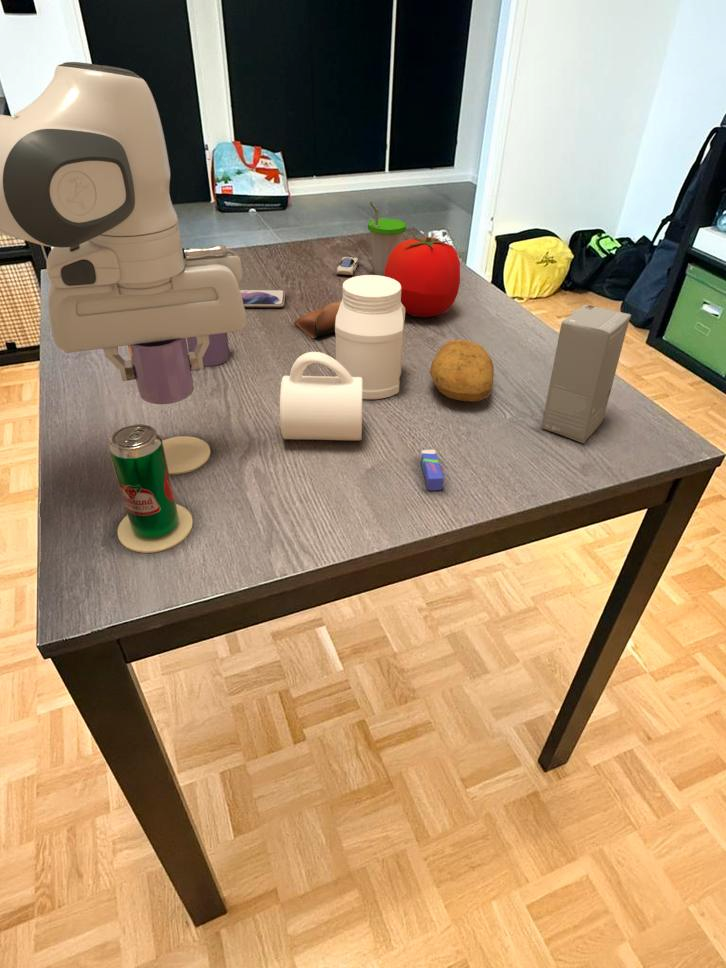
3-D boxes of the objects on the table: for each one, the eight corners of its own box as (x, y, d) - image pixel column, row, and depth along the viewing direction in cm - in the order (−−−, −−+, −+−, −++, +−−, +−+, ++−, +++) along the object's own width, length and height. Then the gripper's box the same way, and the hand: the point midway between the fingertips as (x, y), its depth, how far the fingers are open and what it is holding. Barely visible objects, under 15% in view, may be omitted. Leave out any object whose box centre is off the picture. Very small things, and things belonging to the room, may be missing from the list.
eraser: (434, 461, 80) (436, 448, 79) (442, 491, 75) (444, 478, 74) (419, 461, 80) (420, 449, 78) (426, 491, 75) (427, 478, 74)
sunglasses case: (369, 299, 120) (381, 275, 114) (388, 327, 118) (402, 304, 113) (290, 322, 111) (299, 297, 105) (310, 353, 110) (320, 329, 104)
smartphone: (283, 304, 116) (202, 304, 115) (284, 308, 117) (203, 308, 116) (285, 289, 121) (208, 289, 121) (285, 293, 122) (208, 293, 121)
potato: (424, 409, 90) (428, 366, 85) (432, 368, 100) (436, 327, 95) (489, 416, 89) (496, 373, 84) (490, 374, 98) (497, 333, 94)
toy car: (361, 259, 139) (361, 247, 137) (352, 278, 130) (352, 265, 128) (345, 257, 139) (345, 246, 138) (335, 276, 130) (335, 264, 129)
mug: (361, 452, 81) (363, 370, 73) (281, 451, 81) (275, 368, 73) (361, 418, 87) (363, 339, 80) (287, 417, 87) (282, 337, 80)
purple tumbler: (138, 407, 71) (125, 350, 66) (141, 380, 75) (128, 326, 71) (194, 401, 72) (184, 345, 68) (193, 375, 77) (184, 322, 72)
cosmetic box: (583, 445, 83) (616, 335, 73) (534, 427, 87) (559, 319, 77) (605, 419, 89) (638, 313, 79) (558, 402, 92) (584, 299, 82)
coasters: (119, 560, 65) (119, 558, 65) (111, 449, 80) (111, 447, 80) (234, 535, 68) (234, 533, 68) (205, 433, 84) (205, 431, 83)
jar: (397, 402, 91) (404, 303, 82) (332, 397, 92) (332, 299, 82) (402, 365, 100) (408, 272, 91) (343, 361, 101) (343, 268, 91)
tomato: (457, 330, 111) (466, 252, 102) (380, 325, 112) (383, 248, 103) (454, 296, 123) (463, 224, 115) (385, 292, 124) (388, 220, 115)
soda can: (122, 535, 67) (95, 444, 60) (148, 506, 71) (126, 418, 64) (164, 546, 66) (141, 454, 59) (188, 516, 70) (169, 427, 63)
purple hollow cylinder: (193, 368, 98) (186, 326, 93) (188, 351, 102) (181, 310, 98) (232, 363, 99) (227, 321, 95) (225, 346, 104) (220, 306, 100)
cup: (401, 268, 135) (405, 194, 126) (405, 281, 129) (410, 204, 120) (365, 268, 135) (367, 193, 125) (367, 281, 129) (369, 204, 119)
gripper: (234, 234, 69) (246, 349, 77) (33, 252, 63) (70, 373, 72) (245, 253, 64) (257, 372, 73) (29, 273, 58) (70, 400, 67)
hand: (163, 373), depth 72 cm, fingers closed on purple tumbler, 6 cm apart
